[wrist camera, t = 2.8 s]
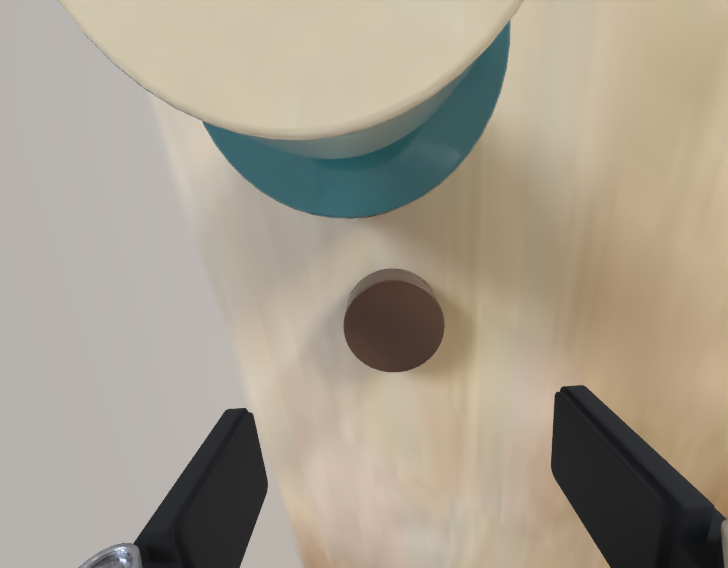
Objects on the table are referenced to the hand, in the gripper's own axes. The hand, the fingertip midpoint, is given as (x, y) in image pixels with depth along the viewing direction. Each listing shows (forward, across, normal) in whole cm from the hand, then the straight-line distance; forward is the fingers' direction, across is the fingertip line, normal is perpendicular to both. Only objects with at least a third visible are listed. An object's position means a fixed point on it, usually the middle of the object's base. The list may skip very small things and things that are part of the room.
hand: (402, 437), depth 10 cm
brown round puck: (+10, 0, -1) cm, 10 cm away
